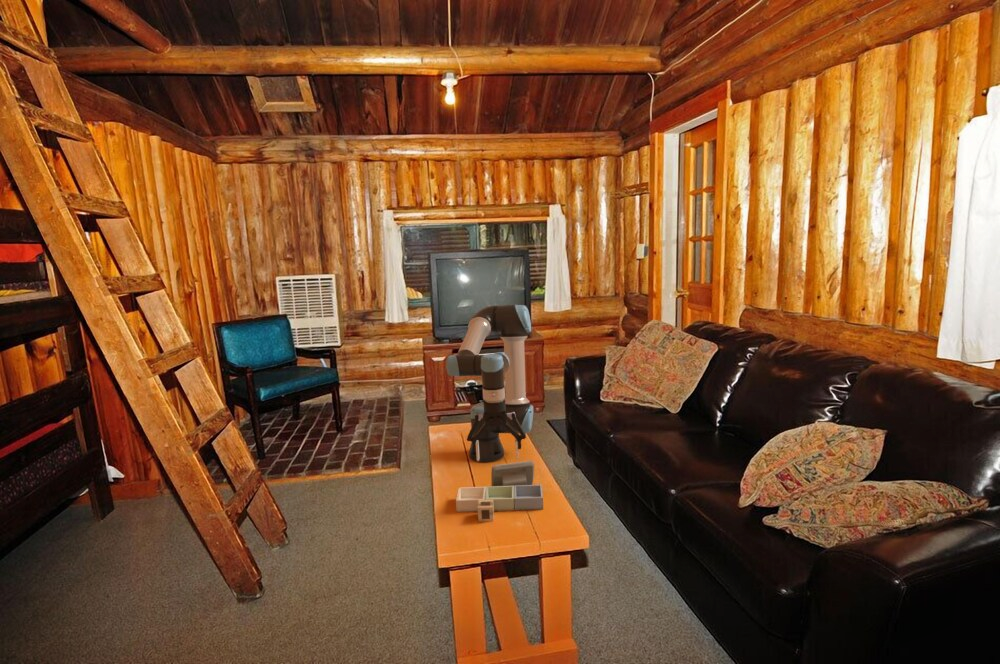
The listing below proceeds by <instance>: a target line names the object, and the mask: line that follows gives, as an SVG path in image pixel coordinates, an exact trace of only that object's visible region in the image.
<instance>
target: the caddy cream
mask: <svg viewBox="0 0 1000 664" xmlns="http://www.w3.org/2000/svg"><path fill="white" fill-rule="evenodd" d="M486 488H487V486H466V487H465V486H464V487H458V491H457V495H456V498H455V507H456V513H470V512H471V513H472V512H478V502H479V500H485V496H486Z"/></svg>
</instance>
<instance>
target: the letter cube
mask: <svg viewBox="0 0 1000 664" xmlns="http://www.w3.org/2000/svg"><path fill="white" fill-rule="evenodd" d="M477 518H478V522H494V519H495V511H494V501H493V500H479V502H478V511H477Z"/></svg>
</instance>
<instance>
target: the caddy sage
mask: <svg viewBox="0 0 1000 664" xmlns="http://www.w3.org/2000/svg"><path fill="white" fill-rule="evenodd" d="M485 500H493V501H494V512H496V511H498V512H499V511H504V512H505V511H515V504H514V486H492V485H491V486H486V496H485Z"/></svg>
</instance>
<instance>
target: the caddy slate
mask: <svg viewBox="0 0 1000 664" xmlns="http://www.w3.org/2000/svg"><path fill="white" fill-rule="evenodd" d="M529 510H531V511H532V510H544V495H543V484H532V485H517V486H514V511H529Z"/></svg>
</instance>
